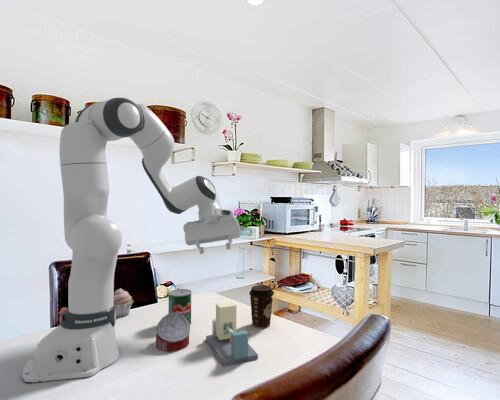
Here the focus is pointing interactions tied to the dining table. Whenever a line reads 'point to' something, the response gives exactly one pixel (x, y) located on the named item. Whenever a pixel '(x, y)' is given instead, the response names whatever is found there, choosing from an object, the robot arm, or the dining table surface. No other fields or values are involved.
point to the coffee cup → (261, 305)
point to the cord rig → (231, 346)
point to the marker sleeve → (225, 319)
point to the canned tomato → (180, 302)
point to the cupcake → (122, 302)
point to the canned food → (172, 332)
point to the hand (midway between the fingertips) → (215, 250)
